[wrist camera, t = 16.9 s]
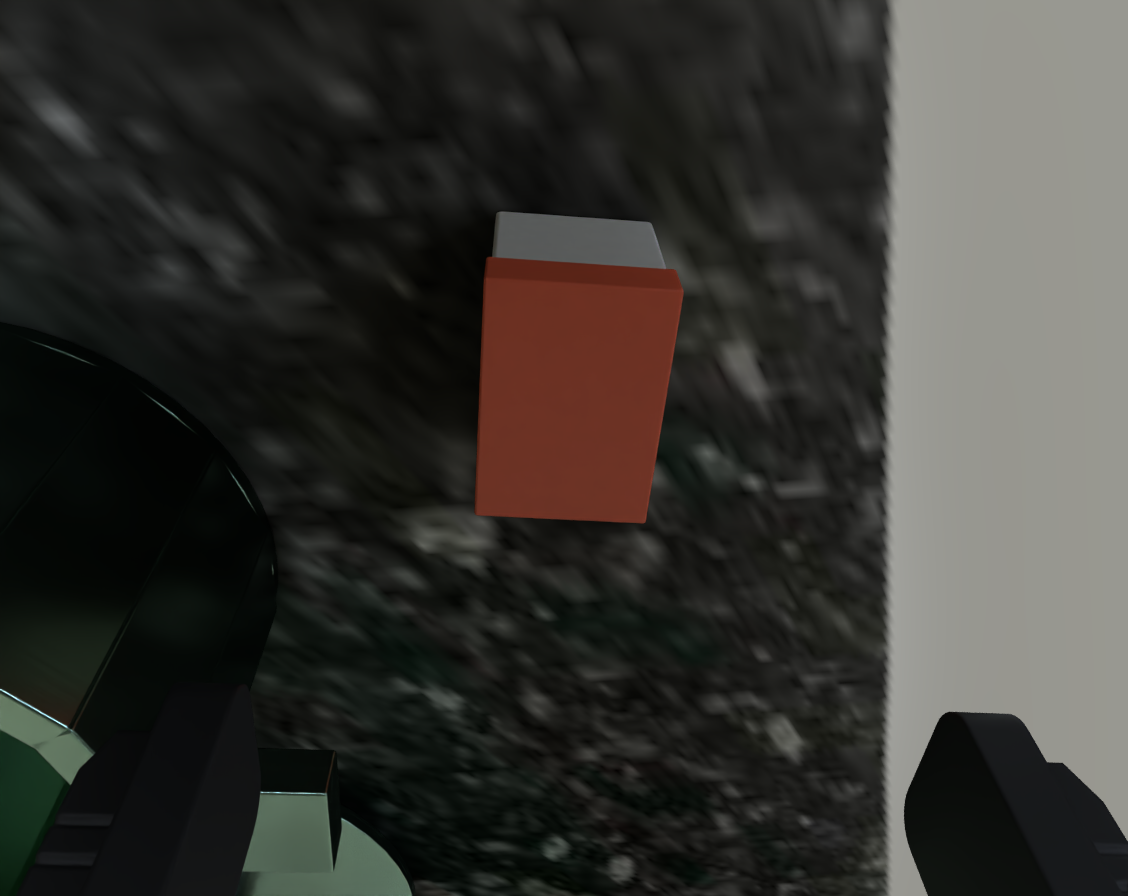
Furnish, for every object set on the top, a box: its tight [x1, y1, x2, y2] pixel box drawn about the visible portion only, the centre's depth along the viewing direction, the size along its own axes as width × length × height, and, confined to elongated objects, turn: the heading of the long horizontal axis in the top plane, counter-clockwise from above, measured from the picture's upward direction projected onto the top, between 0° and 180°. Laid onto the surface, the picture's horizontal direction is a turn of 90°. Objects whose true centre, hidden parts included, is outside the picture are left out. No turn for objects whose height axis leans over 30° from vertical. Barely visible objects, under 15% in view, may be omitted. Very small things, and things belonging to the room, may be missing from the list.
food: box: [474, 211, 684, 523], centre depth 18 cm, size 5×3×4 cm
